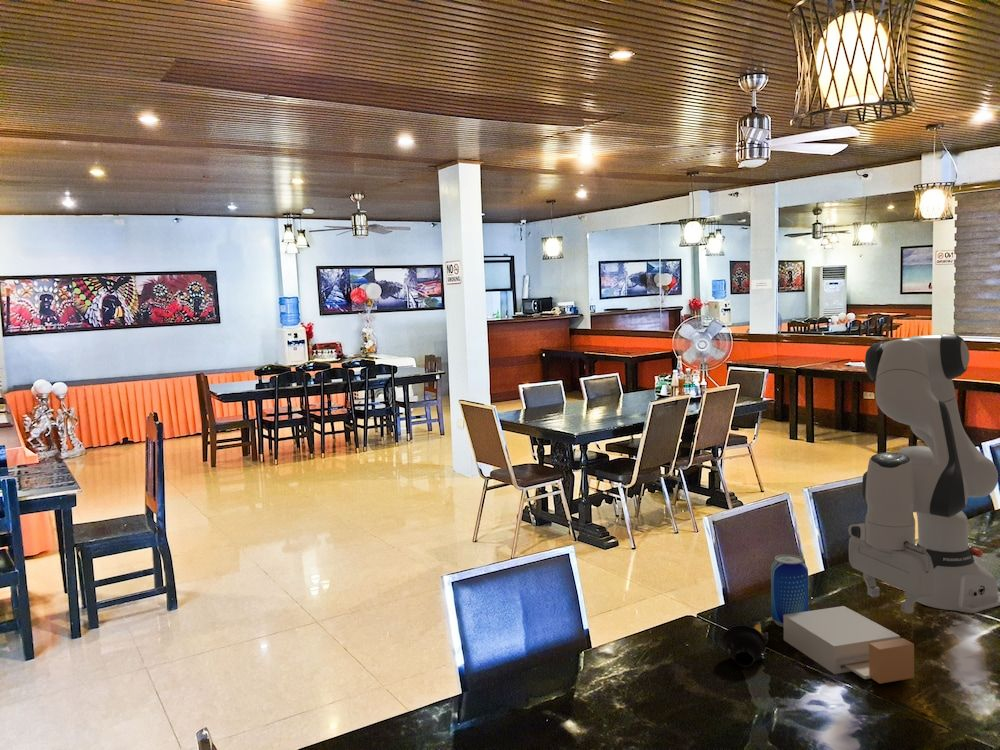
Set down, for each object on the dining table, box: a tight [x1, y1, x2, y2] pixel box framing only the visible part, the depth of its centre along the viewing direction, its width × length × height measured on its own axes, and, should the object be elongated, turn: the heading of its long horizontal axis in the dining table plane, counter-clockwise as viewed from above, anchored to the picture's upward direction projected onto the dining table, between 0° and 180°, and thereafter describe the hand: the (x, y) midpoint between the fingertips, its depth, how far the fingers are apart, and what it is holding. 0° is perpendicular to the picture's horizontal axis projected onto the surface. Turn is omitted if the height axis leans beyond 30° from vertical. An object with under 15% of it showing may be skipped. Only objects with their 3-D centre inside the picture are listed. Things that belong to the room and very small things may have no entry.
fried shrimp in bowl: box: [722, 621, 769, 668], centre depth 173 cm, size 9×11×18 cm
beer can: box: [770, 554, 810, 629], centre depth 188 cm, size 8×8×16 cm
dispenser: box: [783, 605, 901, 675], centre depth 171 cm, size 16×19×6 cm
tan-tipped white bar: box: [843, 637, 915, 685], centre depth 166 cm, size 11×22×7 cm, turn 13°
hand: (889, 603), depth 155 cm, fingers open, 8 cm apart
